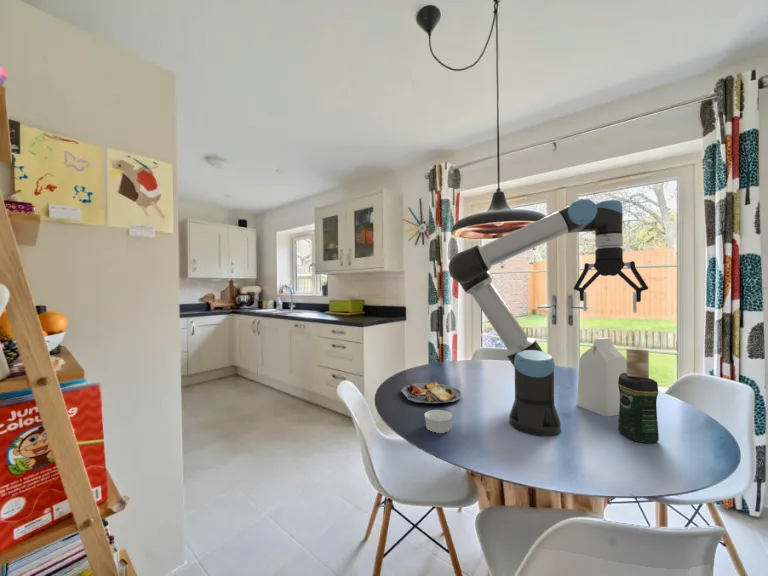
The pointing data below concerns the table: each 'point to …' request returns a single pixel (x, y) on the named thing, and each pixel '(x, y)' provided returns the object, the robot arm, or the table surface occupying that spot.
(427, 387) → the food plate
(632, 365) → the beech block
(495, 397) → the table surface
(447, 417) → the ramekin
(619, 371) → the milk
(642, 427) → the coffee jar
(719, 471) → the table surface
